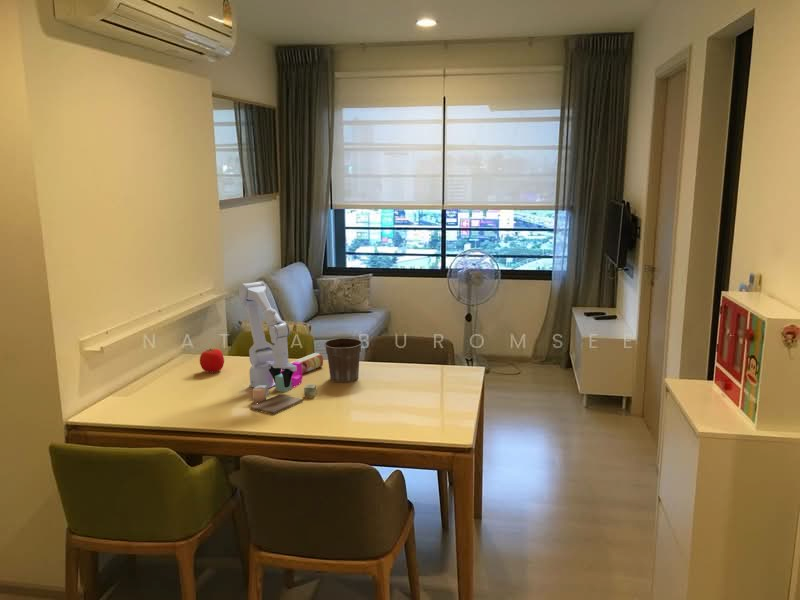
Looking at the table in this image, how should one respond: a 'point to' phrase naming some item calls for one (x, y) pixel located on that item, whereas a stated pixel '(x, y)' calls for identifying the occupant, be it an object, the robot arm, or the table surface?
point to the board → (276, 404)
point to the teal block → (281, 383)
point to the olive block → (310, 390)
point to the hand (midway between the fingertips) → (282, 385)
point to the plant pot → (343, 358)
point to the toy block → (296, 374)
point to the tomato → (212, 360)
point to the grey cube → (263, 387)
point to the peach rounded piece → (259, 394)
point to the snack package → (310, 362)
